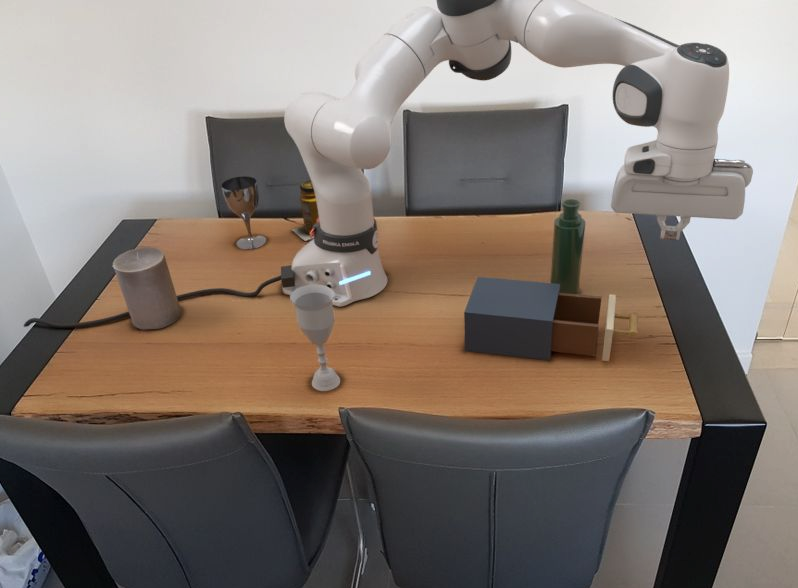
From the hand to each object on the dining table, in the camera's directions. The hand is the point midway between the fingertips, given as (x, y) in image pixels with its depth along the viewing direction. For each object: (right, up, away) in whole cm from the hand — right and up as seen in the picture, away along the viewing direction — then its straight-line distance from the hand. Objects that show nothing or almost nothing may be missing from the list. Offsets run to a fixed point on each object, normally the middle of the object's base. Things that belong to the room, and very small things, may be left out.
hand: (669, 237), depth 119 cm
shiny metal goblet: (-82, +7, +53) cm, 98 cm away
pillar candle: (-95, -12, +27) cm, 100 cm away
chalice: (-58, -24, +8) cm, 64 cm away
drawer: (-12, -17, +12) cm, 24 cm away
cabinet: (-24, -16, +16) cm, 33 cm away
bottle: (-12, -7, +27) cm, 31 cm away
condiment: (-67, +10, +56) cm, 88 cm away
